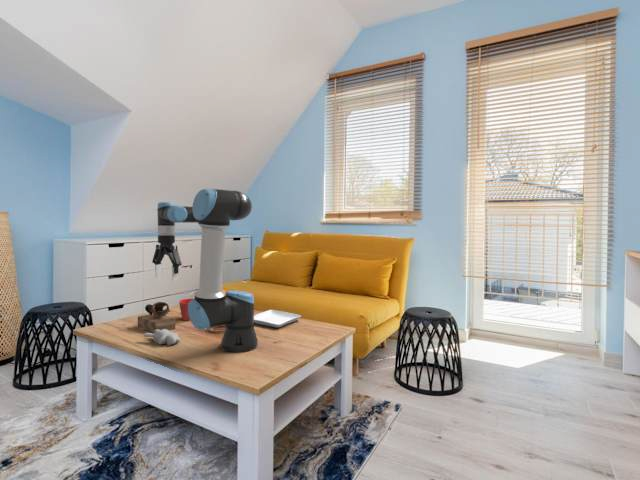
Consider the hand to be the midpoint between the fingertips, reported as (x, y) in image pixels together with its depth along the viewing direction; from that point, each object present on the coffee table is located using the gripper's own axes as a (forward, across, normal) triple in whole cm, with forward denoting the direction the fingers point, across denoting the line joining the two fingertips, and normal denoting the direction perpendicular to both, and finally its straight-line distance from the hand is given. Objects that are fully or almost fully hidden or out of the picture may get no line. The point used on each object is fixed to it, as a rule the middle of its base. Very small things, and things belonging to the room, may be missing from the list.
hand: (166, 279), depth 179 cm
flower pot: (+24, +6, -17) cm, 30 cm away
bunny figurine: (+24, -17, +13) cm, 32 cm away
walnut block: (+24, +4, +3) cm, 24 cm away
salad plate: (+25, -32, -41) cm, 58 cm away
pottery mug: (+19, +5, +2) cm, 20 cm away
